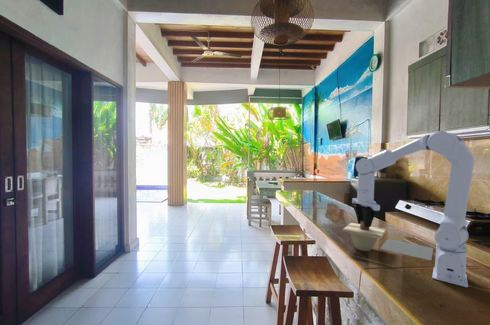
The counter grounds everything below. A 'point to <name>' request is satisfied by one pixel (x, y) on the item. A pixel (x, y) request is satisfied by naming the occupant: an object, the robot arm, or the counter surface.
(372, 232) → the lid
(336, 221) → the counter surface
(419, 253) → the mat
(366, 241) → the beige bowl
